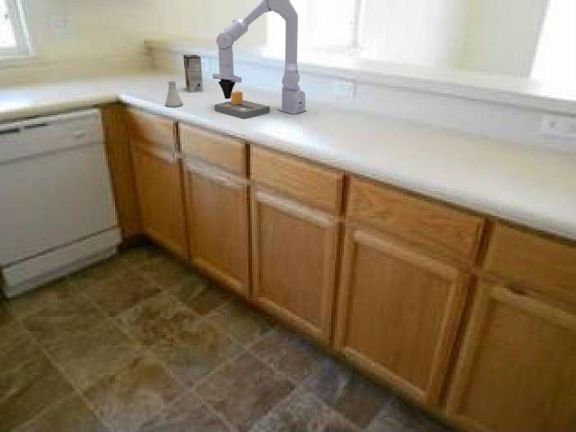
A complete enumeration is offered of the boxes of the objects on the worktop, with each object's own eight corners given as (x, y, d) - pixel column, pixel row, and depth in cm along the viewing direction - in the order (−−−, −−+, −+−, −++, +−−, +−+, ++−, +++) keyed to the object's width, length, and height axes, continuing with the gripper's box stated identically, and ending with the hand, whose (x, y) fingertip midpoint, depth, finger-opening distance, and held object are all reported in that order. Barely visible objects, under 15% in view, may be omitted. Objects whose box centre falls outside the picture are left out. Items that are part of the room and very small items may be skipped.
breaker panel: (269, 112, 182) (269, 106, 180) (244, 118, 172) (243, 111, 171) (240, 105, 193) (240, 98, 191) (214, 110, 183) (214, 103, 182)
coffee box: (185, 89, 221) (182, 54, 214) (198, 88, 224) (196, 54, 216) (190, 92, 214) (187, 57, 207) (203, 91, 216) (201, 56, 209)
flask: (161, 106, 189) (159, 81, 185) (173, 102, 195) (170, 79, 190) (175, 108, 186) (172, 83, 182) (186, 104, 192) (184, 80, 187)
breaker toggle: (242, 103, 184) (242, 92, 182) (235, 104, 181) (234, 93, 179) (238, 102, 185) (238, 91, 183) (231, 103, 183) (231, 92, 180)
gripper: (246, 65, 179) (247, 99, 185) (220, 61, 187) (221, 94, 193) (234, 67, 174) (235, 102, 180) (207, 63, 182) (210, 97, 188)
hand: (227, 98), depth 186 cm, fingers closed
